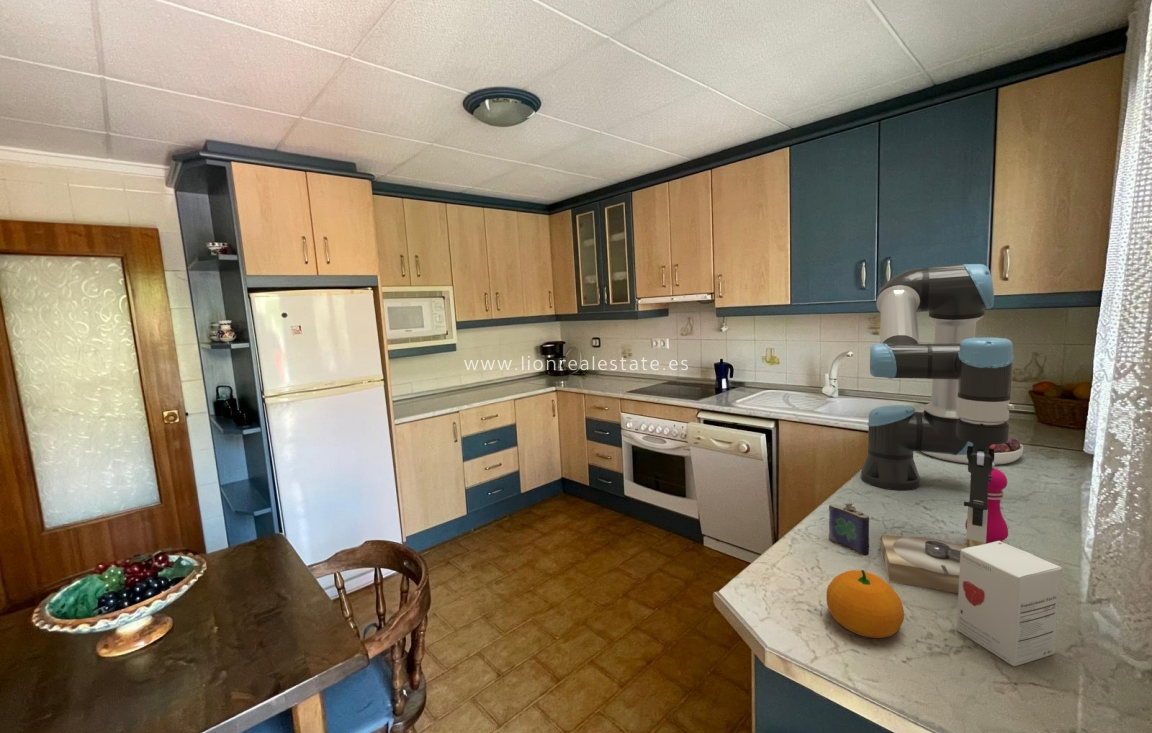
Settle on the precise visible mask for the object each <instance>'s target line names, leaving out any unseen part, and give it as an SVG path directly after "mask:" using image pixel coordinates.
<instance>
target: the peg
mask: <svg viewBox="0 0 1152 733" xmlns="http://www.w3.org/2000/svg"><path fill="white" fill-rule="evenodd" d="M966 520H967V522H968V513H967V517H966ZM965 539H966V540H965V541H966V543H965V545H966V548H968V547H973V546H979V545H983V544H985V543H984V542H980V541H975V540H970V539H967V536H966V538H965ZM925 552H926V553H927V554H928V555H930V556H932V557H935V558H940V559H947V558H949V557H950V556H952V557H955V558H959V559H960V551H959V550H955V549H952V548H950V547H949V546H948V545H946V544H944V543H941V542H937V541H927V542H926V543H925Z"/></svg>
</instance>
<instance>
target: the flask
mask: <svg viewBox="0 0 1152 733" xmlns="http://www.w3.org/2000/svg"><path fill="white" fill-rule="evenodd" d="M843 504H844V505H841V504H838V503H830V504H829V505H828V510H829V511H828V512H829V513H828V518H829V519H828V520H829V522H828V528H829V529H828V540H829V541H830V542H832V543H833V544H837V545H839V546H841V547H843V548H844V549H849V551H853V552H854V553H857V554H859V555H861V556H868V555H869V554H870V516H868V514H866V513H864V512H863V511H860V510H858V509H857V508H856V507H855V506H853V504H855V502H854V501H848V502H844V503H843Z"/></svg>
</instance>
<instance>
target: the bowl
mask: <svg viewBox="0 0 1152 733" xmlns="http://www.w3.org/2000/svg"><path fill="white" fill-rule="evenodd" d="M989 448H990V449H994V462H993V463H994V464H995V466H998V465H999V466H1000V465H1005V464H1010V463H1013V462H1015V461H1017V460H1018V459H1020V458H1021V457H1022V455H1023V452H1024V446H1023V444H1022V443H1021V442H1020V441H1019V440H1017V439H1016V438H1012V437H1008V441H1007V442H1006V443H1004V444H999V445H995V444H992V445H989ZM920 452H921V453H923V454H925V455H927V456H929V457H931V458H936V459H937V460H943V461H947V462H952V463H959V464H967V465H968V459H967V455H952V454H942V453H932V452H922V451H920Z"/></svg>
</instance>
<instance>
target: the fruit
mask: <svg viewBox="0 0 1152 733" xmlns="http://www.w3.org/2000/svg"><path fill="white" fill-rule="evenodd" d="M826 606H827V608H828V610H829V612H830V613H831V616H832V617H833V618H834V620H835V621H836V622H837V623H838V624H840V625H841V626H842V627H843V628H845V629H847V631H850V632H852V633H853V634H857V635H860V636H862V637H867V638H873V639H874V638H875V639H881V638H882V639H883V638H888V637H891V636H893V635H894V634H896V633H897V632H899V631H900V629H901V626H902V624H903V623H904V621H905V620H904V619H905V610H904V607H903V603H902V599H901V598H900V596H899V595H898V593H897V592H896V591H895V589H894V588H893V587H892V586H891V585H890V584H889V583H888V582H887V581H886V580H884V579H883V578H881V576H878V575H877V574H874V573H872V572H867V571H865V570H864V569H861V570H855V569H853V570H846V571H844V572H841V573H839V574H838V575H836V576H835V577H834V578H833V579H831V581H830V583H829V584H828V585H827V588H826Z"/></svg>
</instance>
